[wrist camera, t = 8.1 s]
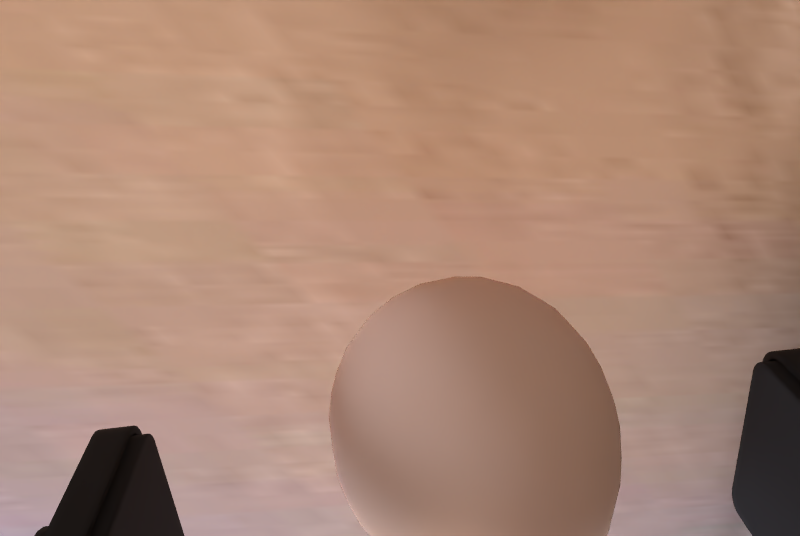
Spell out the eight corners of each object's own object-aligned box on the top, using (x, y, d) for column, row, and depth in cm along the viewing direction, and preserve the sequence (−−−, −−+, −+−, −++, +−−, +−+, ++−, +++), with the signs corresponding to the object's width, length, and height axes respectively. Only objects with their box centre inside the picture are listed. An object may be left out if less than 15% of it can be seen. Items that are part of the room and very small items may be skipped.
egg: (595, 306, 14) (771, 532, 9) (453, 457, 15) (532, 730, 10) (421, 181, 12) (512, 368, 7) (277, 362, 13) (265, 633, 8)
